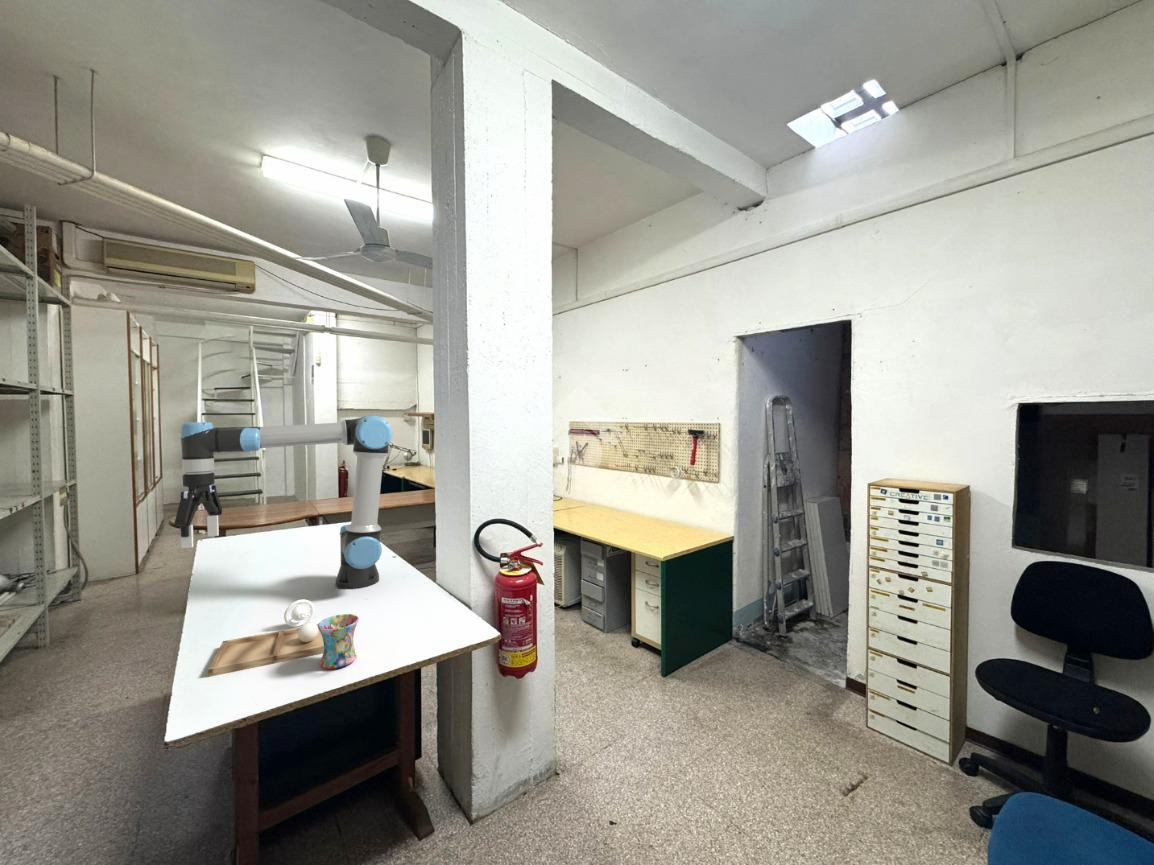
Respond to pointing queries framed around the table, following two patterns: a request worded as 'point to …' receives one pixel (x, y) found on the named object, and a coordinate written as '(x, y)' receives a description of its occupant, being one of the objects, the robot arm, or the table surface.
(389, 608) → the table surface
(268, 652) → the divided wooden tray
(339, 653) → the floral vase
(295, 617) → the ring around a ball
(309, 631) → the ceramic egg
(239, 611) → the table surface
